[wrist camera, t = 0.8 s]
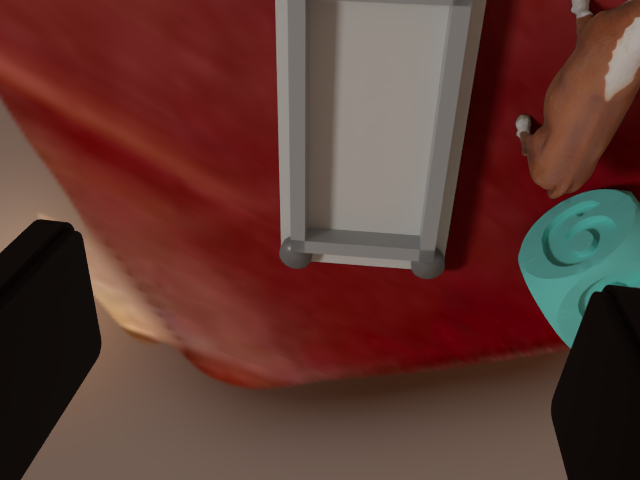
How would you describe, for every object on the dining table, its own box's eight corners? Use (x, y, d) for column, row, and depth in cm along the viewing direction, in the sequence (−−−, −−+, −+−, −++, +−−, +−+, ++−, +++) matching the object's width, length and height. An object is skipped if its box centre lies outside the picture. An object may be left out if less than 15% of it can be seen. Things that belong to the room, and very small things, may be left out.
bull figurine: (683, -52, 32) (760, -23, 25) (552, 160, 39) (584, 226, 33) (610, -81, 32) (667, -60, 25) (491, 139, 39) (510, 201, 32)
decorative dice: (566, 300, 46) (594, 378, 39) (508, 231, 43) (528, 302, 36) (670, 248, 42) (721, 323, 36) (615, 168, 39) (659, 234, 33)
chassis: (276, -73, 33) (267, -67, 31) (494, -67, 33) (501, -59, 30) (283, 253, 46) (277, 275, 44) (441, 265, 45) (443, 288, 43)
